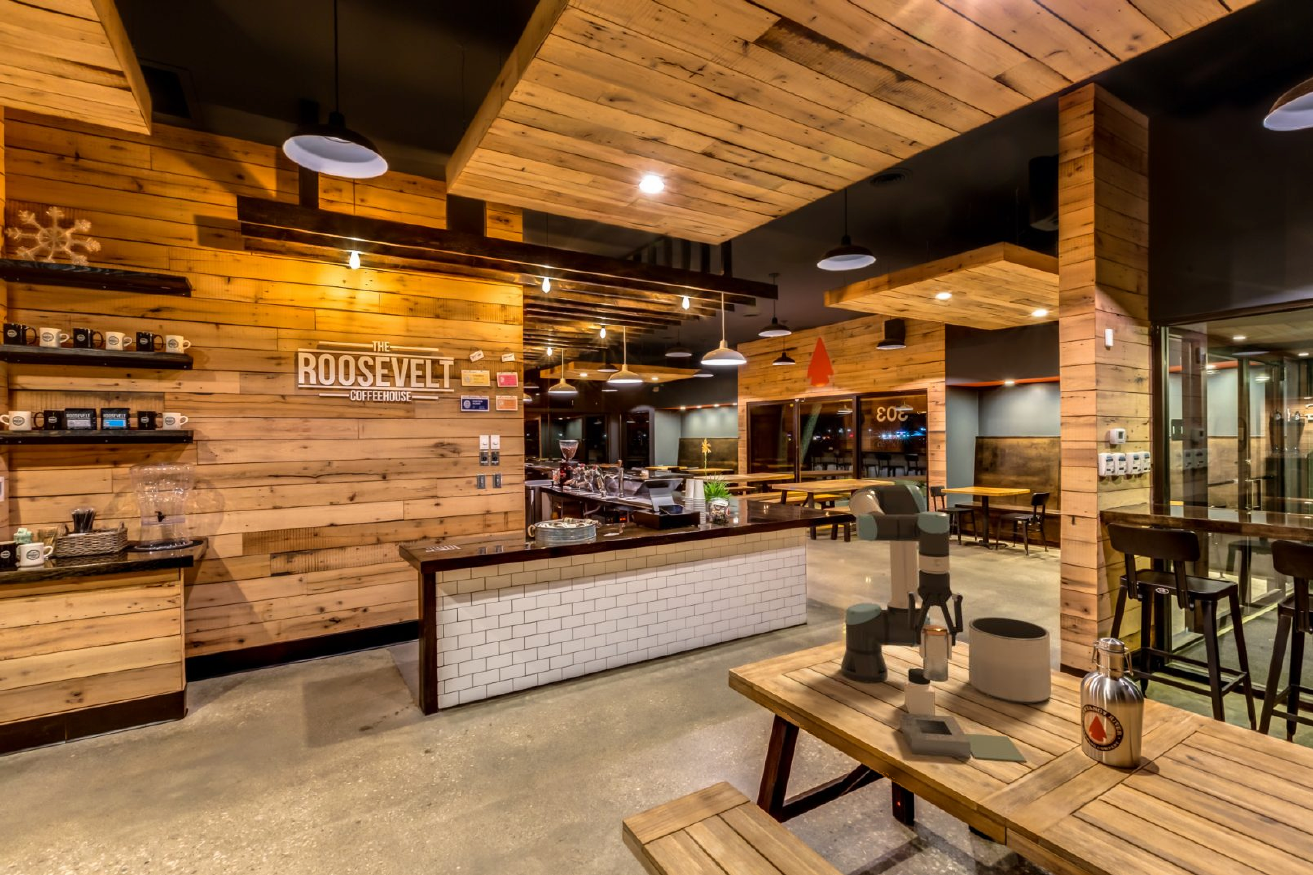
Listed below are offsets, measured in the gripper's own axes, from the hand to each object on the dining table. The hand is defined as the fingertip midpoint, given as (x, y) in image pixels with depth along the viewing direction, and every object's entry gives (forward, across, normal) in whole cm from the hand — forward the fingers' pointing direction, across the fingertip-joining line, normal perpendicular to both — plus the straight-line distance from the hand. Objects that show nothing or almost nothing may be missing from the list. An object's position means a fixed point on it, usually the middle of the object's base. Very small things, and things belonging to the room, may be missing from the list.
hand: (935, 656), depth 160 cm
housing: (+23, -1, 0) cm, 23 cm away
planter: (+23, +31, +38) cm, 54 cm away
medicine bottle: (+23, 0, +19) cm, 30 cm away
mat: (+23, +13, -1) cm, 26 cm away
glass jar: (+5, 0, 0) cm, 5 cm away
